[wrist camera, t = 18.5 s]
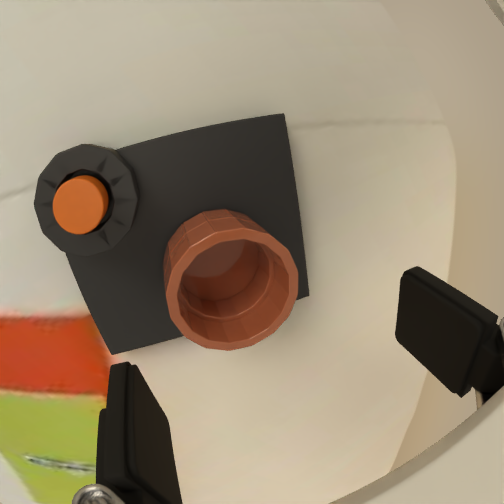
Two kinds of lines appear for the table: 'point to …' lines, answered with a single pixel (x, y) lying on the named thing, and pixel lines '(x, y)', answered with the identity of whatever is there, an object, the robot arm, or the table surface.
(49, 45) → the table surface
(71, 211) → the tare button
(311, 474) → the table surface
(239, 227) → the small bowl
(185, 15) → the table surface
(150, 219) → the scale
